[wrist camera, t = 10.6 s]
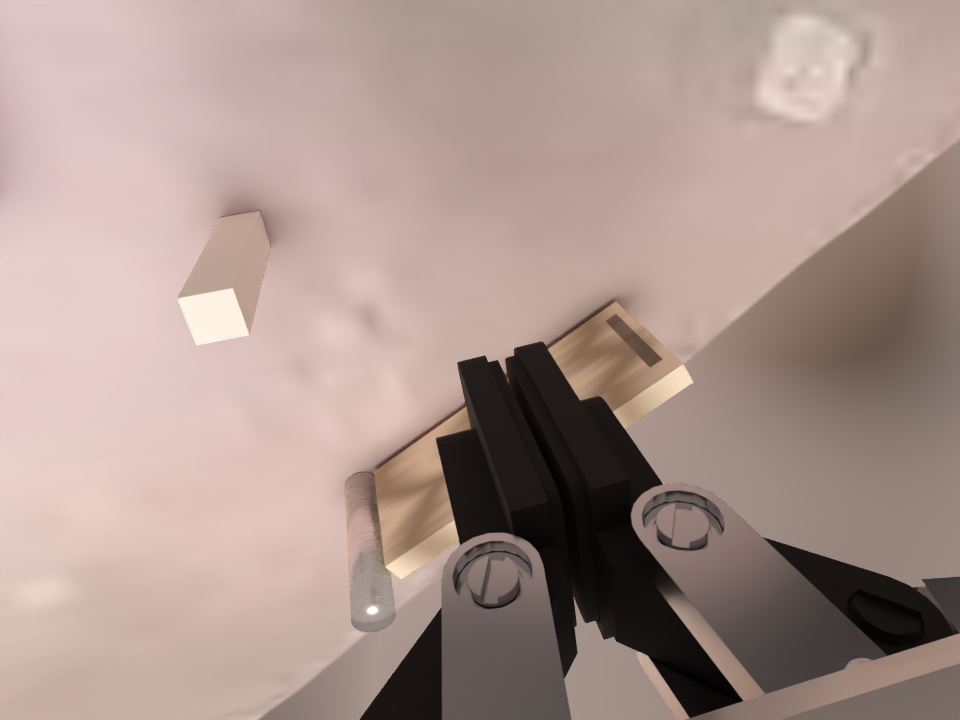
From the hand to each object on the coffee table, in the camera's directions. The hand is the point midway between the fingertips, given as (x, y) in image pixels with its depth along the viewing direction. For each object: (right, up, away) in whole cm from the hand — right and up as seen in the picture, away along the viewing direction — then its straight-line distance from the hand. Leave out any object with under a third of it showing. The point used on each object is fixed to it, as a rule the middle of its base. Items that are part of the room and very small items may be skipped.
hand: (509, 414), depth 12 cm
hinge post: (-9, -8, +30) cm, 33 cm away
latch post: (-13, +8, +20) cm, 25 cm away
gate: (+1, -1, +29) cm, 29 cm away
